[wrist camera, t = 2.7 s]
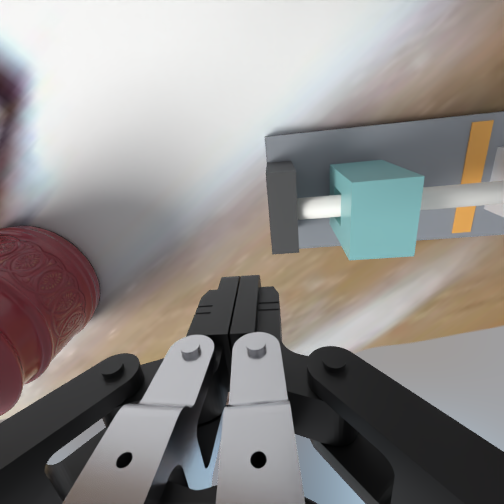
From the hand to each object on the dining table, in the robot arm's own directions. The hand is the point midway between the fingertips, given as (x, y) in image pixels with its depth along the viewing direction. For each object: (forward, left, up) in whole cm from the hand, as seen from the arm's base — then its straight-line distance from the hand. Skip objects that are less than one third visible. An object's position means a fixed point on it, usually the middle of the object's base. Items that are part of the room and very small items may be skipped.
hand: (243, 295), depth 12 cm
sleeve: (0, +8, -15) cm, 17 cm away
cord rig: (0, +12, -16) cm, 20 cm away
